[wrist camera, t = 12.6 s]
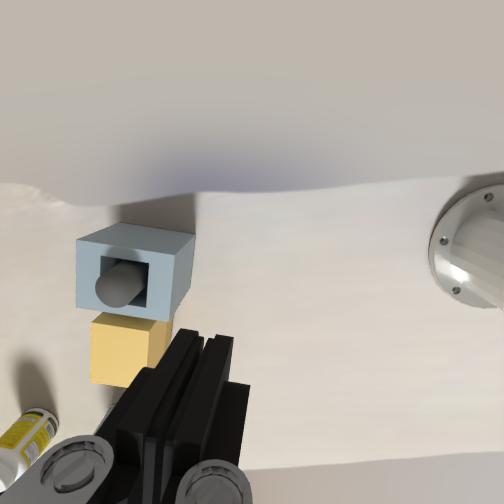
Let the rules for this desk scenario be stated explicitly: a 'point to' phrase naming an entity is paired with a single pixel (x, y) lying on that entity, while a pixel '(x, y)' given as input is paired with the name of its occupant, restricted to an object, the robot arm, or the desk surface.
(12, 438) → the supplement bottle
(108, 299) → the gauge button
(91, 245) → the frame
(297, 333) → the desk surface
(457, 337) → the desk surface
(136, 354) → the block
